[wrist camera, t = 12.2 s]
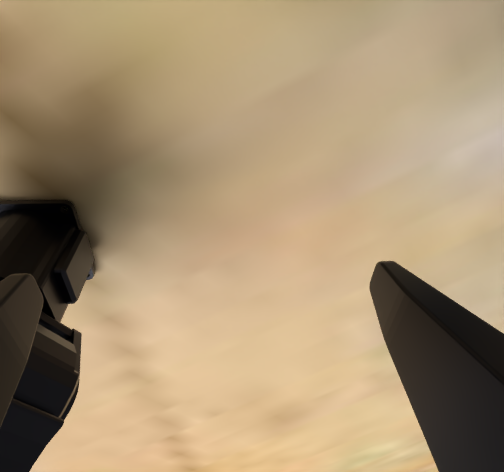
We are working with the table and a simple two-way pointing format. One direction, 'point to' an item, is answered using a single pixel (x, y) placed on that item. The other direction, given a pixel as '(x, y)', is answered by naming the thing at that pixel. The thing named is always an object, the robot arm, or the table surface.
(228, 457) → the table surface
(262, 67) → the table surface
